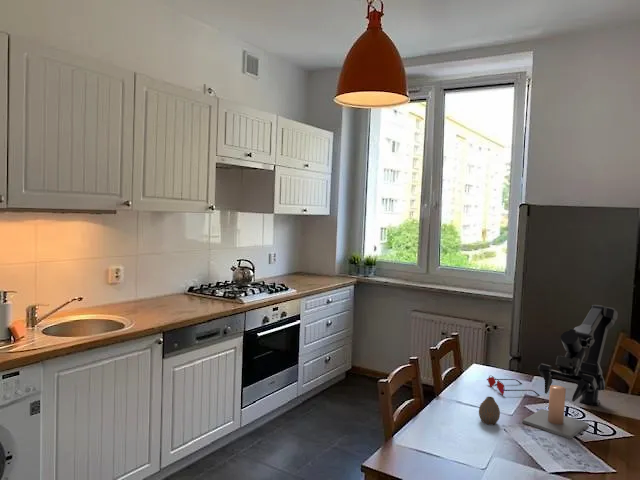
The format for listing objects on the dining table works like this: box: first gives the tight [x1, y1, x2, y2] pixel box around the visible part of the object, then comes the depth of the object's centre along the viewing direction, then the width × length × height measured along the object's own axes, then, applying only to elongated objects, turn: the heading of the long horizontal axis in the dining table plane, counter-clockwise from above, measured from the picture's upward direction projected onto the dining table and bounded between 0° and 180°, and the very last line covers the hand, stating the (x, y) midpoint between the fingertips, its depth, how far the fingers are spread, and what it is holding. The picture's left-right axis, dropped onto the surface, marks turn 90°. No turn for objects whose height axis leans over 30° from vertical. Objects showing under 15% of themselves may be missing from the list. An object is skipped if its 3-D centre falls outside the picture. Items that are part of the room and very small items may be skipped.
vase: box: [478, 396, 501, 426], centre depth 177 cm, size 7×7×9 cm
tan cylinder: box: [547, 384, 567, 424], centre depth 177 cm, size 5×5×12 cm
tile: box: [521, 408, 589, 440], centre depth 177 cm, size 16×16×1 cm
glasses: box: [486, 374, 540, 397], centre depth 211 cm, size 14×16×5 cm
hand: (558, 397), depth 178 cm, fingers open, 9 cm apart
